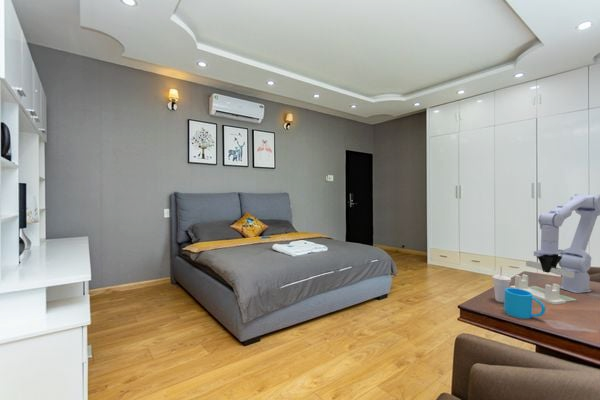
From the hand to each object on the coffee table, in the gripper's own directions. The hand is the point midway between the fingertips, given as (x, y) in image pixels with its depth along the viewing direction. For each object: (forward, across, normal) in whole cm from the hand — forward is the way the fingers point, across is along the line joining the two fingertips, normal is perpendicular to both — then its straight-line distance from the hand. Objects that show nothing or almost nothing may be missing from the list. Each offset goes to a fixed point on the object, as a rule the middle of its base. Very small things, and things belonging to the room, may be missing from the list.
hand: (548, 271), depth 127 cm
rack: (+10, -7, 0) cm, 12 cm away
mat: (+10, 0, 0) cm, 10 cm away
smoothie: (+10, -27, -2) cm, 28 cm away
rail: (0, 0, 0) cm, 0 cm away
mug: (+10, -31, -14) cm, 35 cm away
